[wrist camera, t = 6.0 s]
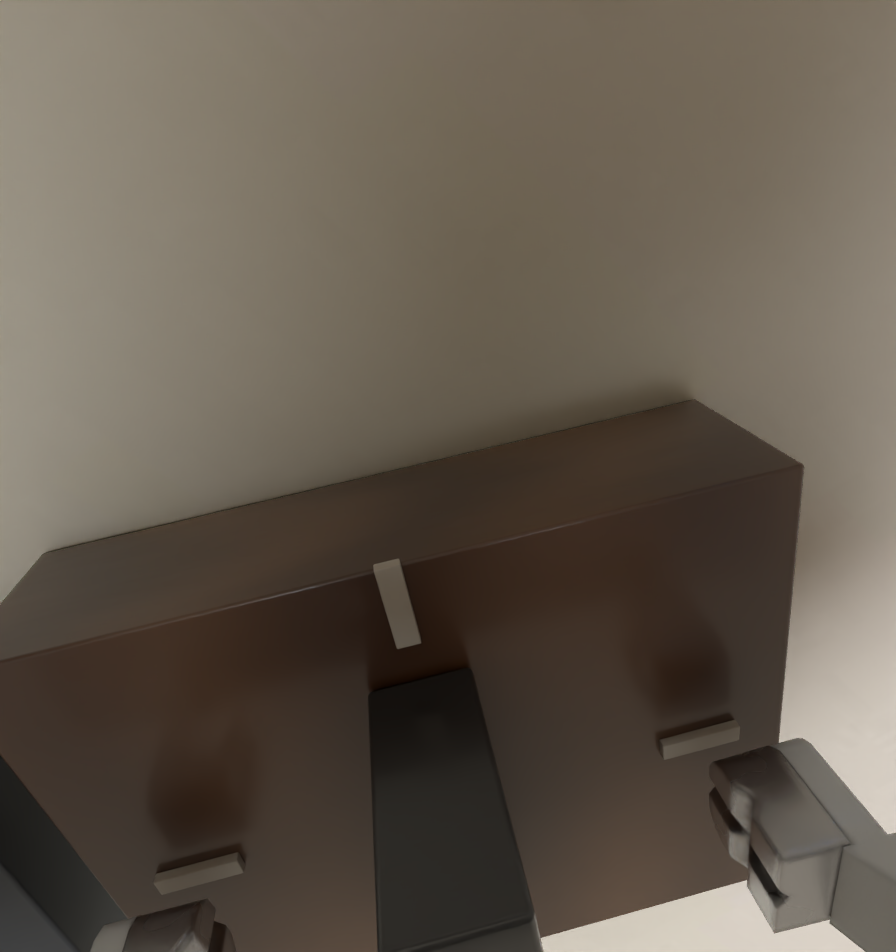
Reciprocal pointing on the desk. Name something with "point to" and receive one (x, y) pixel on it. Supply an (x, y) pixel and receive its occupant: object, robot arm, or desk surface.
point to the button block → (44, 881)
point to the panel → (415, 673)
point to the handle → (443, 825)
